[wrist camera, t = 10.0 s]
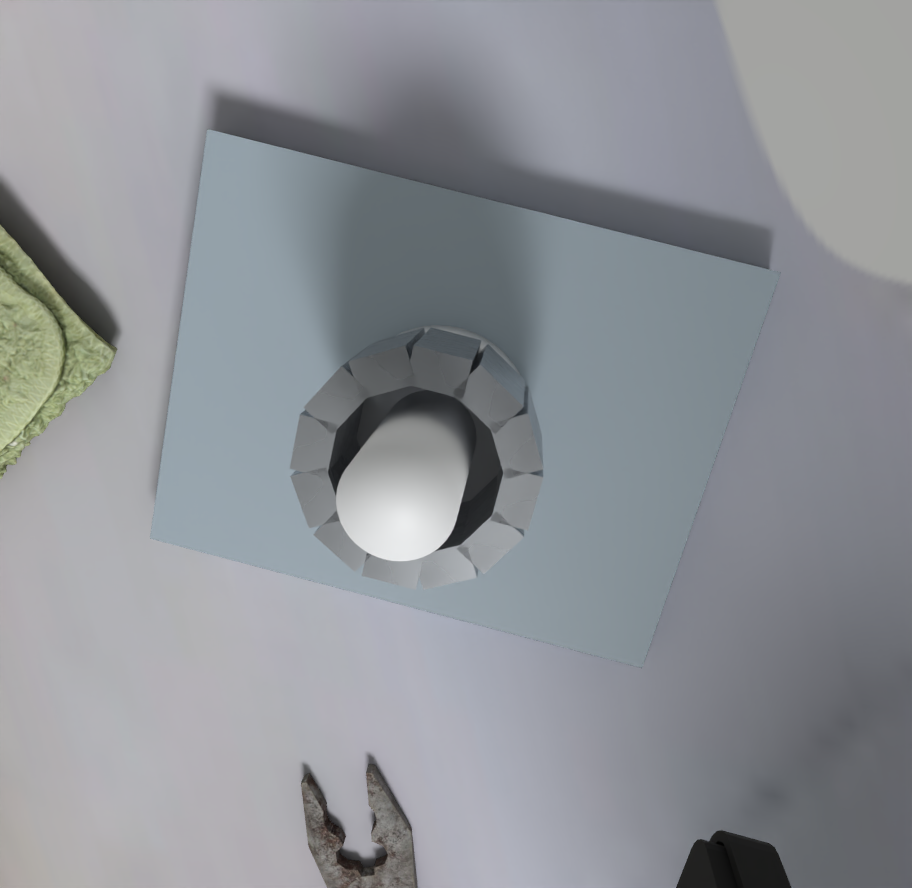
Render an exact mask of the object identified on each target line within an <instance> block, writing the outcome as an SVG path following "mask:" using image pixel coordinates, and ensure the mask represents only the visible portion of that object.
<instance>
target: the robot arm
mask: <svg viewBox="0 0 912 888" xmlns="http://www.w3.org/2000/svg"><path fill="white" fill-rule="evenodd" d="M676 888H791V886H790V883H789V881H788V878H787V875H786V873H785V870H784V868H783V865H782V863H781V860H780V857H779V855H778V853H777V851H776V849H775V847H773V846H772V845H771V844H769V843H766V842H762V841H758V840H755V839H751V838H747V837H744V836H740V835H737V834H733V833H729V832H726V831H722V830H721V831H717V832H716V833H715V834H714V835H713V836H712V838H711V839H710V841H705V840H701V839H700V840H697V841H696V842H695V843H694V845H693V847H692V849H691V851H690V854H689V856H688V859H687V861H686V864H685V866H684V869H683V872H682V874H681V877H680V879H679V882H678V884H677V887H676Z"/></svg>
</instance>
